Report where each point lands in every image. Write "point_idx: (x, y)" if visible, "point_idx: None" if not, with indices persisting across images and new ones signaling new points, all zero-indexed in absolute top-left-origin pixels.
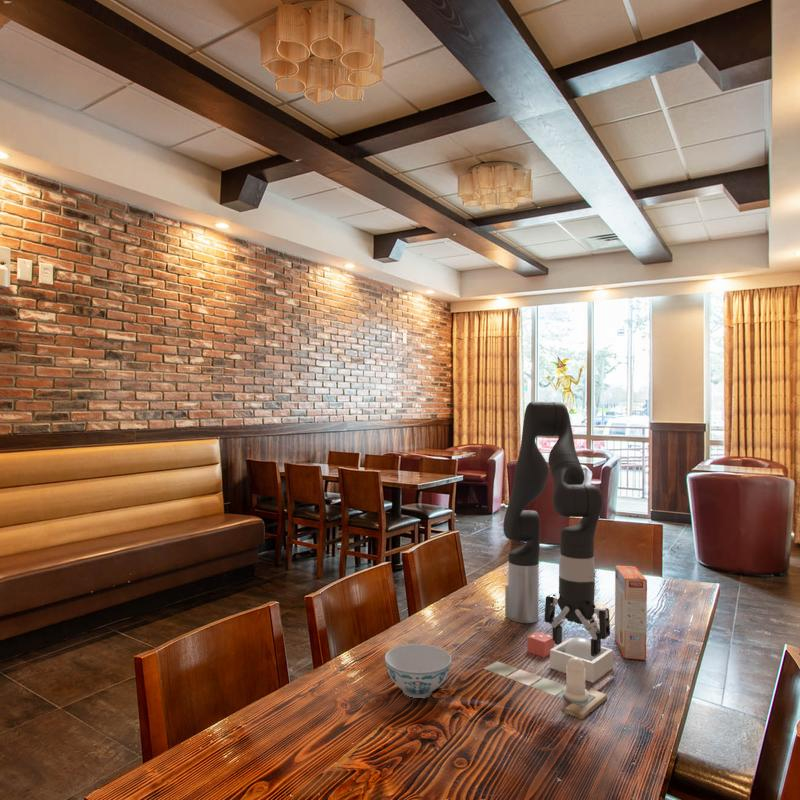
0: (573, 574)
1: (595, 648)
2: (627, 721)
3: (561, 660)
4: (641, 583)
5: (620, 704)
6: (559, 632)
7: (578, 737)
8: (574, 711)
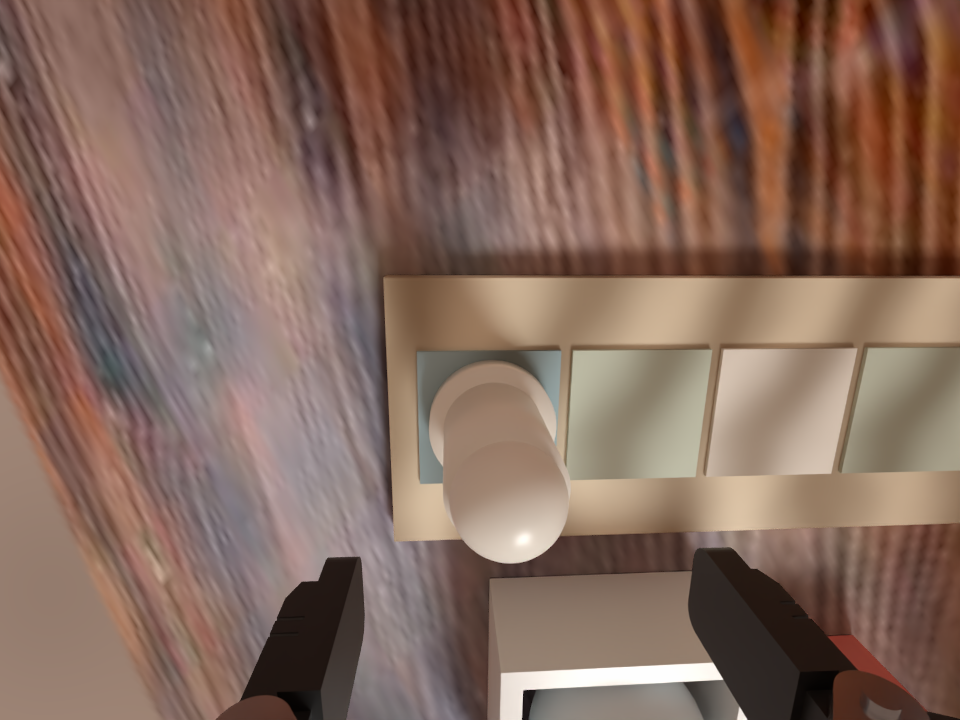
0: None
1: (299, 622)
2: (230, 413)
3: (678, 631)
4: None
5: (329, 528)
6: (753, 666)
7: (312, 97)
8: (426, 279)
